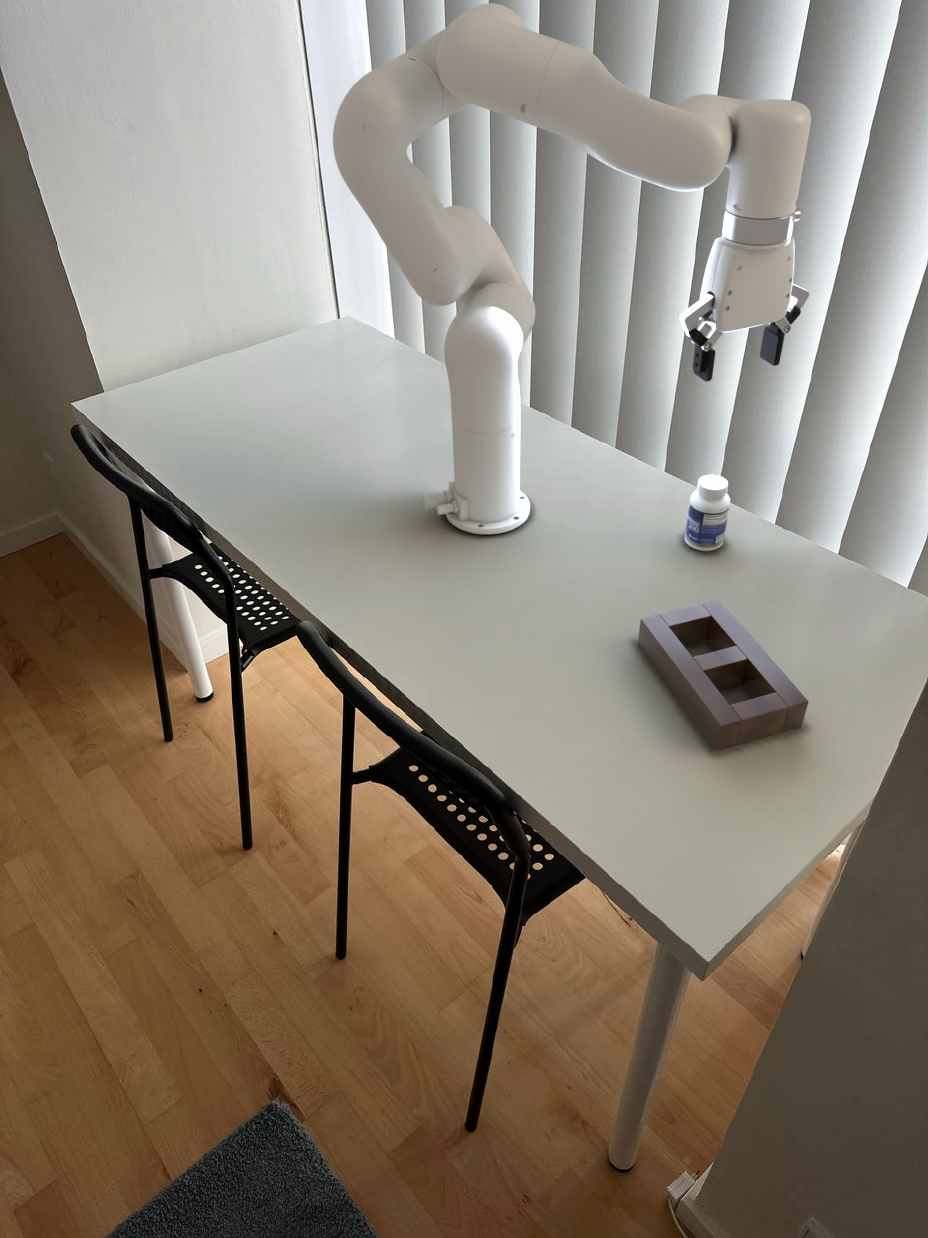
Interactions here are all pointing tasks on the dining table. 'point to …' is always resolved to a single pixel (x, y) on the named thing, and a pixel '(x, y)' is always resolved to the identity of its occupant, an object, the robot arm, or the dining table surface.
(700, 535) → the pill bottle
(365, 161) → the robot arm
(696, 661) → the stand
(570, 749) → the dining table surface
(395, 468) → the dining table surface
